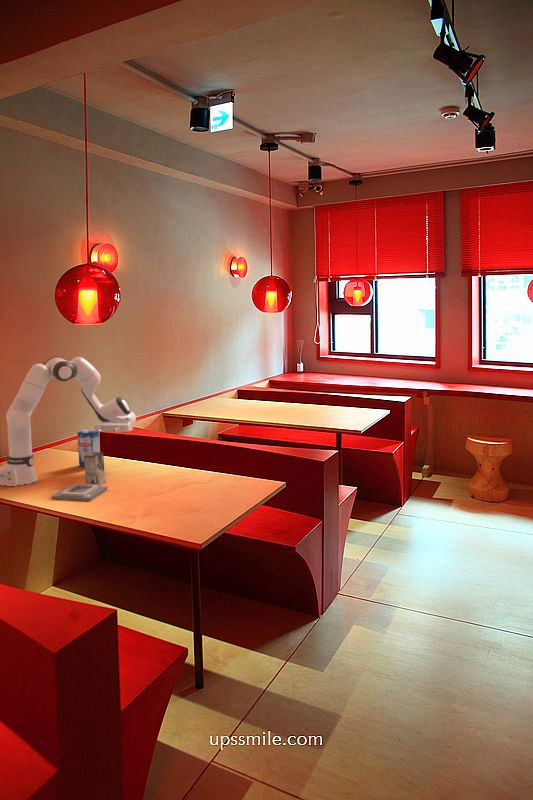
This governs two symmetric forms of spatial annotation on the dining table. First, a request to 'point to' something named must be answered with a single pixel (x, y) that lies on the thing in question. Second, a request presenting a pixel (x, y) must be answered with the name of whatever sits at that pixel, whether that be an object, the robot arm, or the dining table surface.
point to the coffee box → (94, 468)
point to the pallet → (80, 492)
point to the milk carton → (87, 444)
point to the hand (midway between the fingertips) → (106, 430)
